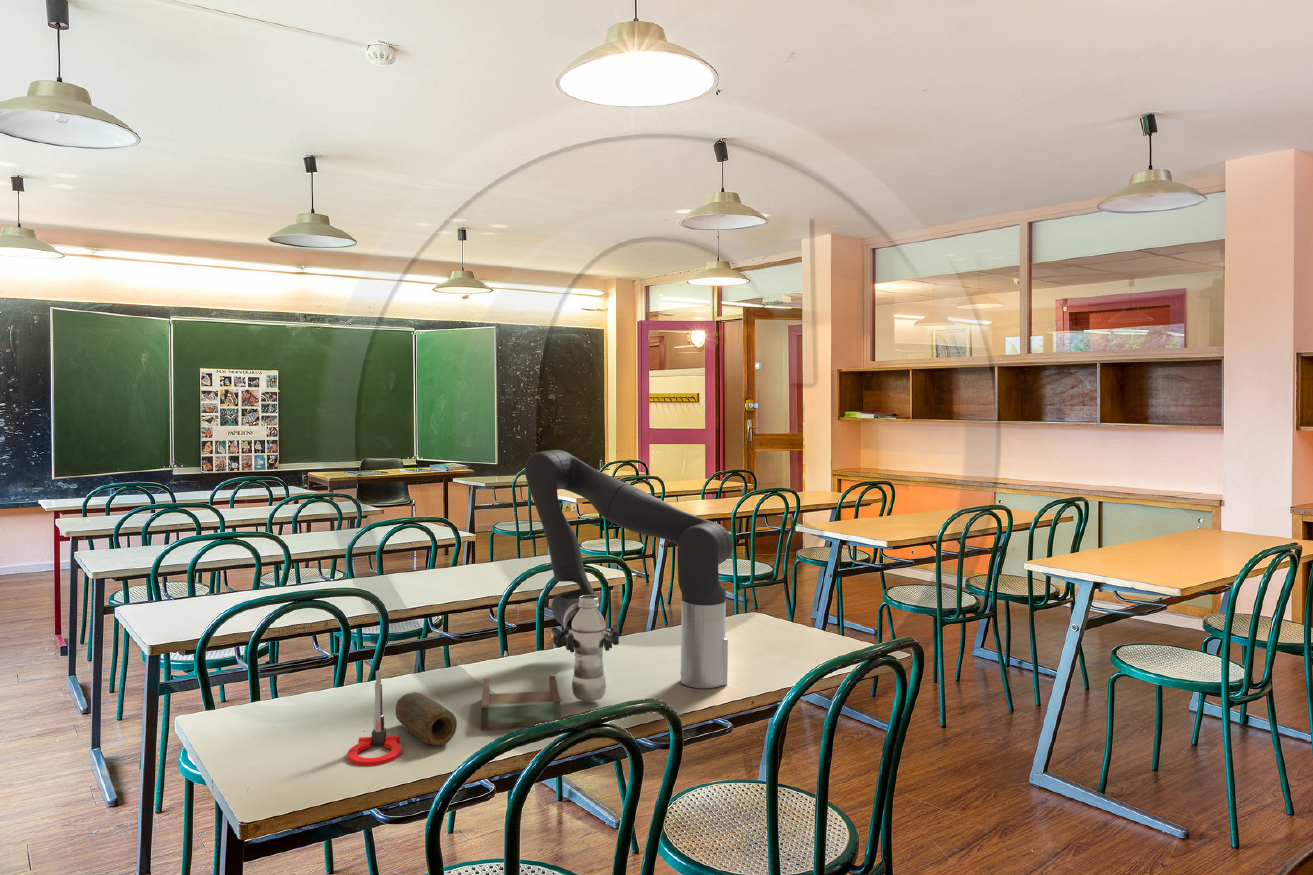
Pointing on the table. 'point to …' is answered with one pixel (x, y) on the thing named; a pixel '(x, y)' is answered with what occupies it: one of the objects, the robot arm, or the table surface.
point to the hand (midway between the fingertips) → (590, 646)
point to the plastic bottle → (588, 650)
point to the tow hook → (376, 736)
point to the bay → (519, 707)
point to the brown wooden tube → (426, 718)
